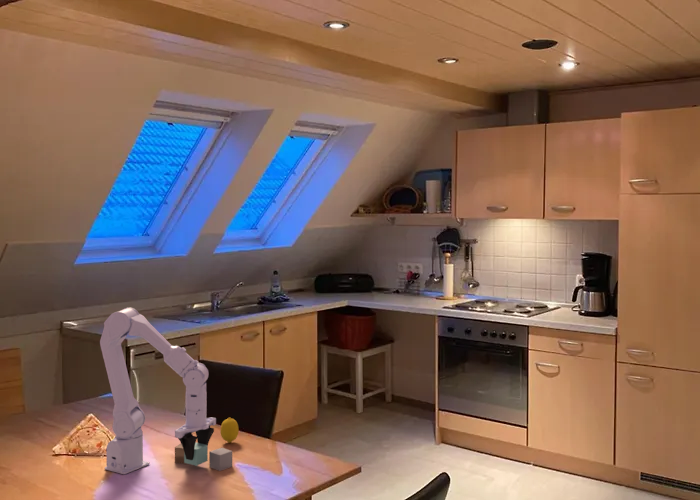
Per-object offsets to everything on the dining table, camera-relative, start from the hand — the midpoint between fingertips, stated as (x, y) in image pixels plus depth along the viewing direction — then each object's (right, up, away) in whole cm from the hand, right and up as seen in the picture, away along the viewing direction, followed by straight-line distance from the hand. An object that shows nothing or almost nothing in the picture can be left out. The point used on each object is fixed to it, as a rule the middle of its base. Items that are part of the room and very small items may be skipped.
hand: (195, 456), depth 194 cm
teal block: (0, -2, 0) cm, 2 cm away
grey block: (+7, -3, +1) cm, 8 cm away
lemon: (+6, -2, +21) cm, 22 cm away
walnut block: (-4, -3, +5) cm, 7 cm away
